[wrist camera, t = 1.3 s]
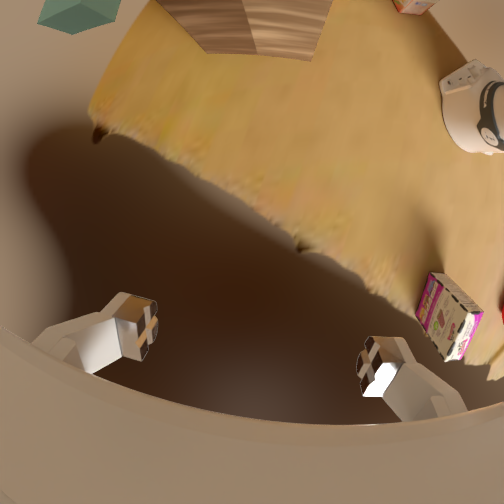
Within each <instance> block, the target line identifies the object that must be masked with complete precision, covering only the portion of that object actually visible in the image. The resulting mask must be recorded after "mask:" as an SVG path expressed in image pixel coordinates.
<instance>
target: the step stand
mask: <svg viewBox="0 0 504 504" xmlns="http://www.w3.org/2000/svg"><path fill="white" fill-rule="evenodd" d="M156 1H157V2H158V3H159V4H160V5H161V6H162V7H163V8H164V9H165V10H166V11H167V12H168V13H169V14H170V15H171V16H172V17H173V18H174V19H175V20H176V21H177V22H178V23H179V24H180V25H181V26H182V27H183V28H184V29H185V30H186V31H187V32H188V33H189V34H190V35H191V36H192V37H193V39H194V40H195V41H196V42H197V43H198V44H199V45H200V46H201V47H202V48H203V50H204V51H205V52H206V53H225V54H250V55H264V56H274V57H283V58H291V59H298V60H304V61H311V60H312V57H313V54H314V51H315V49H316V46H317V43H318V40H319V37H320V35H321V32H322V29H323V26H324V23H325V21H326V18H327V15H328V12H329V10H330V7H331V4H332V1H333V0H156Z"/></svg>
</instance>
